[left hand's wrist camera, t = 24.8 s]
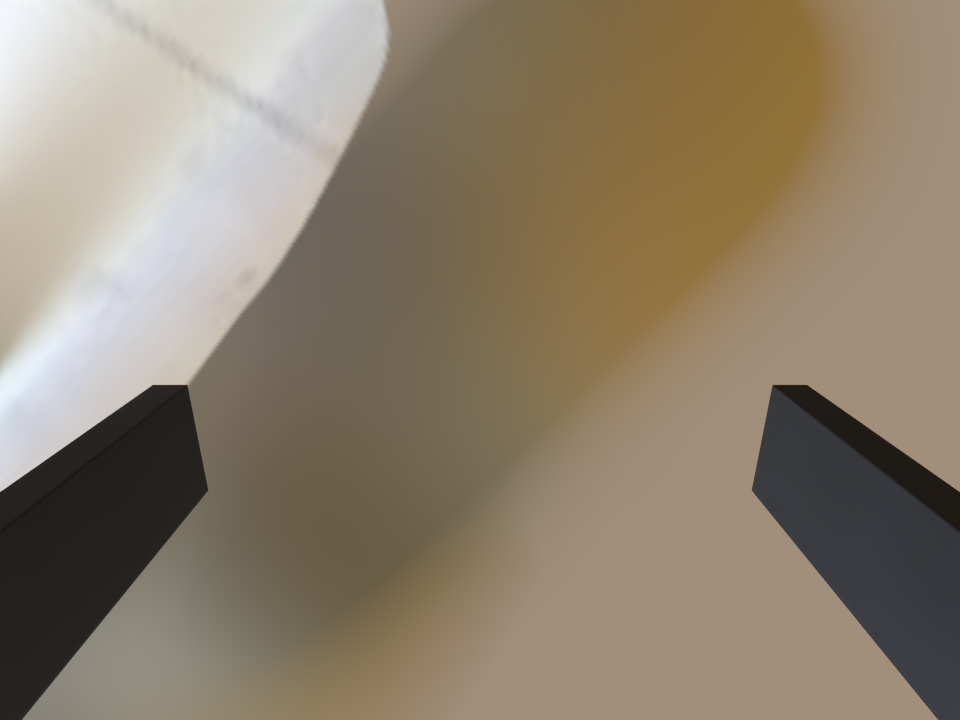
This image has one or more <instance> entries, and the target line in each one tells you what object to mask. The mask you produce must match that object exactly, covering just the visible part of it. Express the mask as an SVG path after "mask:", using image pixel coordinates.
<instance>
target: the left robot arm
mask: <svg viewBox="0 0 960 720" xmlns="http://www.w3.org/2000/svg"><path fill="white" fill-rule="evenodd" d="M207 491H208V487H207V482H206V477H205V472H204V467H203V462H202V457H201V452H200V447H199V442H198V437H197V432H196V427H195V422H194V417H193V412H192V407H191V402H190V396H189V391H188V386H187V385H152V386H151V387H150V388H148V389H147V390H145V391H144V392H142V393H141V394H140V395H138V396H137V397H135V398H134V399H132V400H131V401H130V402H128V403H127V404H125V405H124V406H123V407H121V408H120V409H118V410H117V411H115V412H114V413H113V414H111V415H110V416H108V417H107V418H105V419H104V420H103V421H101V422H100V423H98V424H97V425H95V426H94V427H93V428H91V429H90V430H88V431H87V432H85V433H84V434H83V435H81V436H80V437H78V438H77V439H75V440H74V441H73V442H71V443H70V444H68V445H67V446H65V447H64V448H63V449H61V450H60V451H58V452H57V453H55V454H54V455H53V456H51V457H50V458H48V459H47V460H45V461H44V462H43V463H41V464H40V465H38V466H37V467H35V468H34V469H33V470H31V471H30V472H28V473H27V474H25V475H24V476H23V477H21V478H20V479H18V480H17V481H16V482H14V483H13V484H11V485H10V486H8V487H7V488H6V489H4V490H3V491H1V492H0V720H22V719H23V718H24V716H25V715H26V714H27V713H28V711H29V710H30V709H31V708H32V707H33V705H34V704H35V703H36V702H37V700H38V699H39V698H40V697H41V695H42V694H43V693H44V692H45V691H46V689H47V688H48V687H49V686H50V684H51V683H52V682H53V681H54V679H55V678H56V677H57V676H58V675H59V673H60V672H61V671H62V670H63V668H64V667H65V666H66V665H67V663H68V662H69V661H70V660H71V659H72V657H73V656H74V655H75V654H76V652H77V651H78V650H79V649H80V647H81V646H82V645H83V644H84V642H85V641H86V640H87V639H88V638H89V636H90V635H91V634H92V633H93V631H94V630H95V629H96V628H97V627H98V625H99V624H100V623H101V622H102V620H103V619H104V618H105V617H106V615H107V614H108V613H109V612H110V611H111V609H112V608H113V607H114V606H115V604H116V603H117V602H118V601H119V600H120V598H121V597H122V596H123V595H124V593H125V592H126V591H127V590H128V588H129V587H130V586H131V585H132V584H133V582H134V581H135V580H136V579H137V577H138V576H139V575H140V574H141V572H142V571H143V570H144V569H145V568H146V566H147V565H148V564H149V563H150V561H151V560H152V559H153V558H154V556H155V555H156V554H157V553H158V552H159V550H160V549H161V548H162V547H163V545H164V544H165V543H166V542H167V540H168V539H169V538H170V537H171V535H172V534H173V533H174V532H175V531H176V529H177V528H178V527H179V526H180V524H181V523H182V522H183V521H184V520H185V518H186V517H187V516H188V515H189V513H190V512H191V511H192V510H193V508H194V507H195V506H196V505H197V504H198V502H199V501H200V500H201V499H202V497H203V496H204V495H205V494H206V492H207ZM752 491H753V492H754V494H755V495H756V496H757V497H758V499H759V500H760V501H761V502H762V504H763V505H764V506H765V507H766V508H767V510H768V511H769V512H770V513H771V515H772V516H773V517H774V518H775V520H776V521H777V522H778V523H779V524H780V526H781V527H782V528H783V529H784V531H785V532H786V533H787V534H788V535H789V537H790V538H791V539H792V540H793V542H794V543H795V544H796V545H797V547H798V548H799V549H800V550H801V551H802V553H803V554H804V555H805V556H806V558H807V559H808V560H809V561H810V563H811V564H812V565H813V566H814V567H815V569H816V570H817V571H818V572H819V574H820V575H821V576H822V577H823V579H824V580H825V581H826V582H827V583H828V585H829V586H830V587H831V588H832V590H833V591H834V592H835V593H836V595H837V596H838V597H839V598H840V600H841V601H842V602H843V603H844V604H845V606H846V607H847V608H848V609H849V611H850V612H851V613H852V614H853V615H854V617H855V618H856V619H857V620H858V622H859V623H860V624H861V625H862V627H863V628H864V629H865V630H866V631H867V633H868V634H869V635H870V636H871V638H872V639H873V640H874V641H875V643H876V644H877V645H878V646H879V647H880V649H881V650H882V651H883V652H884V654H885V655H886V656H887V657H888V659H889V660H890V661H891V662H892V663H893V665H894V666H895V667H896V668H897V670H898V671H899V672H900V673H901V675H902V676H903V677H904V678H905V679H906V681H907V682H908V683H909V684H910V686H911V687H912V688H913V689H914V691H915V692H916V693H917V694H918V695H919V697H920V698H921V699H922V700H923V702H924V703H925V704H926V705H927V707H928V708H929V709H930V710H931V711H932V713H933V714H934V715H935V716H936V718H937V719H938V720H960V492H959V491H957V490H956V489H954V488H953V487H952V486H950V485H949V484H947V483H946V482H944V481H943V480H942V479H940V478H939V477H937V476H936V475H934V474H933V473H932V472H930V471H929V470H927V469H926V468H925V467H923V466H922V465H920V464H919V463H917V462H916V461H915V460H913V459H912V458H910V457H909V456H907V455H906V454H905V453H903V452H902V451H900V450H899V449H897V448H896V447H895V446H893V445H892V444H890V443H889V442H887V441H886V440H885V439H883V438H882V437H880V436H879V435H877V434H876V433H874V432H873V431H872V430H870V429H869V428H867V427H866V426H865V425H863V424H862V423H860V422H859V421H857V420H856V419H855V418H853V417H852V416H850V415H849V414H847V413H846V412H845V411H843V410H842V409H840V408H839V407H837V406H836V405H835V404H833V403H832V402H830V401H829V400H827V399H826V398H825V397H823V396H822V395H820V394H819V393H818V392H816V391H815V390H813V389H812V388H810V387H809V386H808V385H773V386H772V391H771V396H770V401H769V407H768V412H767V417H766V422H765V427H764V432H763V437H762V442H761V447H760V452H759V457H758V462H757V467H756V472H755V477H754V482H753V487H752Z"/></svg>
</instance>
